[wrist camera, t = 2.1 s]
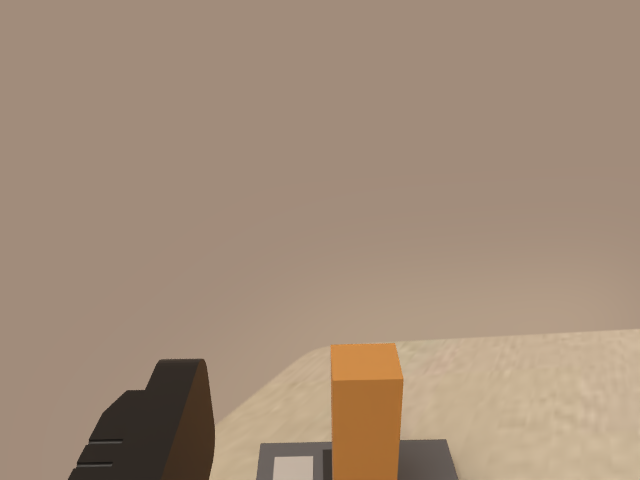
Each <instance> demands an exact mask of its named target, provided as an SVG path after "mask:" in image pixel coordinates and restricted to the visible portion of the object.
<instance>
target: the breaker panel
mask: <svg viewBox="0 0 640 480" xmlns="http://www.w3.org/2000/svg"><path fill="white" fill-rule="evenodd" d="M397 479H399V480H458V477H457V474H456V471H455V467H454V464H453V461H452V457H451V454H450V451H449V448H448V444H447V441H446V439H442V440H400V443H399V459H398V475H397ZM256 480H332V442H307V443H263V444H261V445H260V453H259V461H258V470H257V478H256Z"/></svg>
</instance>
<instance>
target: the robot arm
mask: <svg viewBox="0 0 640 480" xmlns="http://www.w3.org/2000/svg"><path fill="white" fill-rule="evenodd" d="M214 447H215V426H214V418H213V410H212V403H211V396H210V387H209V380H208V372H207V366H206V363H205V361H204V359H163V360H159V362H158V363H157V365H156V366H155V369H154V371H153V373H152V375H151V378H150V380H149V382H148V385H147V387H146V389H145V390H128V391H126V392H125V393H124V394H122V396H120V397H119V398H118V399H117V400H116V401H115V402H114V403H113V404H112V405H111V406H110V407H109V408H108V409H107V410H105V411H104V412H103V414H102V416H101V417H100V419H99V421H98V423H97V425H96V427H95V429H94V431H93V433H92V434H91V436H90V438H89V444H88V445H86V446H85V448H84V450H83V452H82V454H81V455H80V457H79V459H78V461H77V467H76V469H73V471H72V473H71V475H70V477H69V478H68V480H209V476H210V472H211V467H212V463H213V457H214Z"/></svg>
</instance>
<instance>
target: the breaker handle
mask: <svg viewBox="0 0 640 480" xmlns="http://www.w3.org/2000/svg"><path fill="white" fill-rule="evenodd" d="M402 395H403V375H402V371H401V367H400V362H399V358H398V354H397V350H396V346H395V343H390V344H344V345H331V411H332V480H399V479H397V475H398V459H399V443H400V427H401V411H402Z"/></svg>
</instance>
